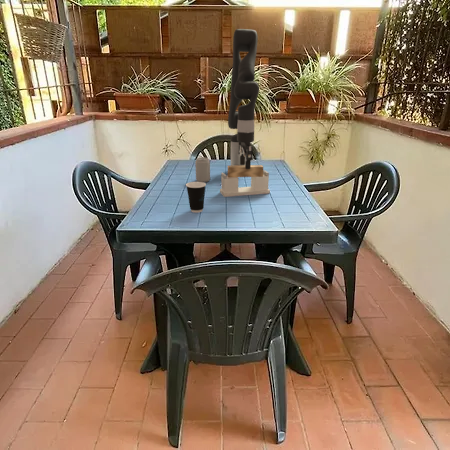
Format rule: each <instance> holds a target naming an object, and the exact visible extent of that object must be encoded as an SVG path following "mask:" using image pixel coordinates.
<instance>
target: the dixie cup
mask: <svg viewBox="0 0 450 450" xmlns="http://www.w3.org/2000/svg"><path fill="white" fill-rule="evenodd" d="M185 186H186V190H187V191H186V192H187V197H188V203H189V210H190V211H191V212H192V213H194V214H195V213H197V214H198V213H202V212H203V210H204V205H205V195H206V186H207V183H206V182H198V181H190V182H187V183H185Z"/></svg>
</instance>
